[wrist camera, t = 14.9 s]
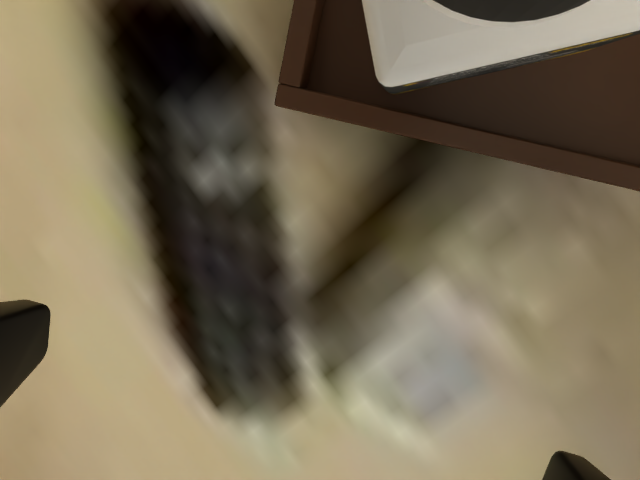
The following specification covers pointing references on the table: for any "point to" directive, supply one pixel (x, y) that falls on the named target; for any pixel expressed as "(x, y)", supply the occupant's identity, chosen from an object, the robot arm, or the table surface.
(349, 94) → the tray
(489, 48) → the medicine bottle
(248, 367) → the table surface
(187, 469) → the table surface
